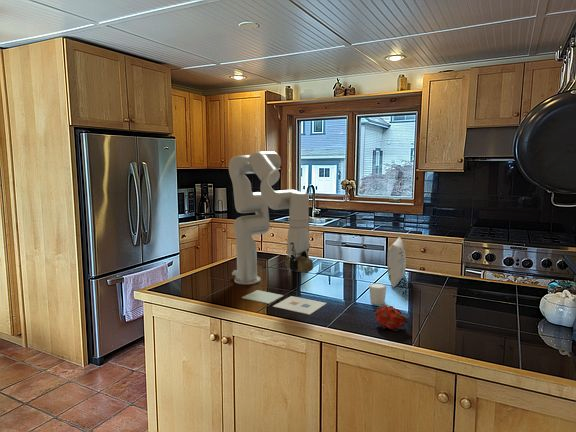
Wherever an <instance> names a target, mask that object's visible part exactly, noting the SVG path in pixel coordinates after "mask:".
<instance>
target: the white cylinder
mask: <svg viewBox="0 0 576 432" xmlns="http://www.w3.org/2000/svg"><path fill="white" fill-rule="evenodd" d="M368 288H369V299H370V304H373V305H384V304H385V302H386V293H387V285H386V284H384V283H379V282H378V283H377V282H374V283H370V284H369V286H368ZM383 303H384V304H383Z"/></svg>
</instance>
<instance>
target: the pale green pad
mask: <svg viewBox="0 0 576 432" xmlns="http://www.w3.org/2000/svg"><path fill="white" fill-rule="evenodd" d="M282 297H284V295H283V294H280V293H279V294H278V293H275V292H270V291H264V290H259V289H256V290H254V291H252V292H250V293H248V294H246V295H244V296H241V299H244V300H250V301H253V302H257V303H263V304H267V305H270V304H271V303H273V302H275V301H277V300H279V299H281V298H282Z"/></svg>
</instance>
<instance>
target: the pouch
mask: <svg viewBox="0 0 576 432" xmlns="http://www.w3.org/2000/svg"><path fill="white" fill-rule="evenodd" d="M406 253H407V252H406V248H405V244H404V241H403V239H402V238H401V236H399V237H398V238H397V239H396V240H395V241H394V242H393V243H392V244H391V246H389V248H388V251H387V258H386V260H387V261H386V262H387V263H386V264H387V274H388V278H389V279H388V280H389V282H390V285H391V287H392V288H393V289H394V288H395V287H397V285H398V284H399V282H400V281H401V280H402V278H403V277H404V275H405V273H406V267H407V255H406Z"/></svg>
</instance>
